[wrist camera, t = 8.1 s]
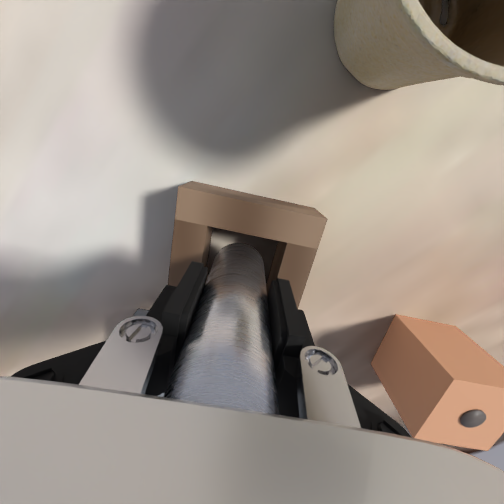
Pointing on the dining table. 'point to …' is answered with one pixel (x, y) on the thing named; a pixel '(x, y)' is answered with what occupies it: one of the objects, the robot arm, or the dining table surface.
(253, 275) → the steel pin
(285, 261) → the walnut bore block
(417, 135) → the dining table surface
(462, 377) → the orange block with knob
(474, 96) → the dining table surface
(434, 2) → the flower pot
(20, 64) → the dining table surface
